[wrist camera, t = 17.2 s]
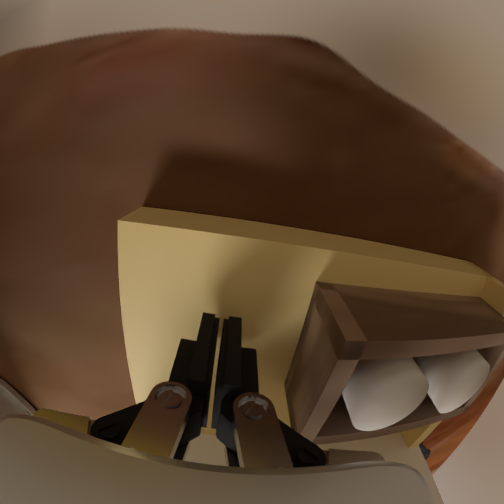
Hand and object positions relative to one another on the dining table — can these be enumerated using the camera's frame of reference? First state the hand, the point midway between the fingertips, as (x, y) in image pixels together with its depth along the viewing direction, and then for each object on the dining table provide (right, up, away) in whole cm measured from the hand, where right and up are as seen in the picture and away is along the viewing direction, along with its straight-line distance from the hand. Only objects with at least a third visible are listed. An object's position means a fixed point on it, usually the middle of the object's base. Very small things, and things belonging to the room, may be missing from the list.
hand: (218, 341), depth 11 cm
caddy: (+10, -1, +2) cm, 10 cm away
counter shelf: (+5, -4, +6) cm, 9 cm away
